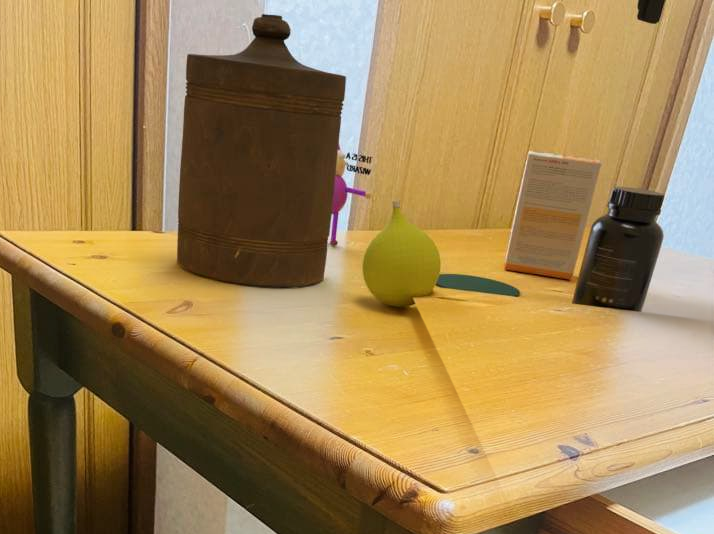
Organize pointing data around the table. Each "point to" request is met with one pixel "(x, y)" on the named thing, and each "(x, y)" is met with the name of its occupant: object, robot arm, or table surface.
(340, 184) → the wizard figurine
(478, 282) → the dark green coaster
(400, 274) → the yellow-green fig
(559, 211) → the supplement box
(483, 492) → the table surface
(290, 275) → the wooden container
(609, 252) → the supplement bottle
